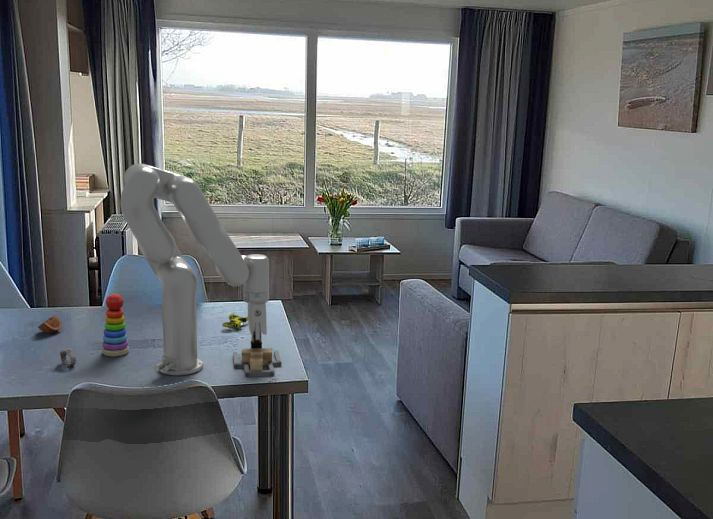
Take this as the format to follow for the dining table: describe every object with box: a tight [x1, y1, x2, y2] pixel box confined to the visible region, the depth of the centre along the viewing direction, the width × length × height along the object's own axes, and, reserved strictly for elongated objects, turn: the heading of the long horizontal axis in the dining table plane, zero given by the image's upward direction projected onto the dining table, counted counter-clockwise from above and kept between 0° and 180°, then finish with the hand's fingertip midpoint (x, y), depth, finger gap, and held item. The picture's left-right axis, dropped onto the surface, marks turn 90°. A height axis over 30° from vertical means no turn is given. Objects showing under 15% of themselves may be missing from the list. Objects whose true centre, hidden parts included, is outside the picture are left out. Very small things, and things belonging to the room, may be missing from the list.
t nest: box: [232, 349, 282, 378], centre depth 205 cm, size 17×14×1 cm
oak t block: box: [241, 347, 273, 371], centre depth 203 cm, size 10×9×4 cm
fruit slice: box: [37, 314, 63, 334], centre depth 227 cm, size 8×7×5 cm
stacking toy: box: [101, 293, 130, 358], centre depth 209 cm, size 8×8×19 cm
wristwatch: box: [59, 347, 77, 367], centre depth 200 cm, size 4×6×5 cm, turn 51°
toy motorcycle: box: [221, 312, 248, 329], centre depth 240 cm, size 12×4×7 cm
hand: (256, 353), depth 210 cm, fingers closed
